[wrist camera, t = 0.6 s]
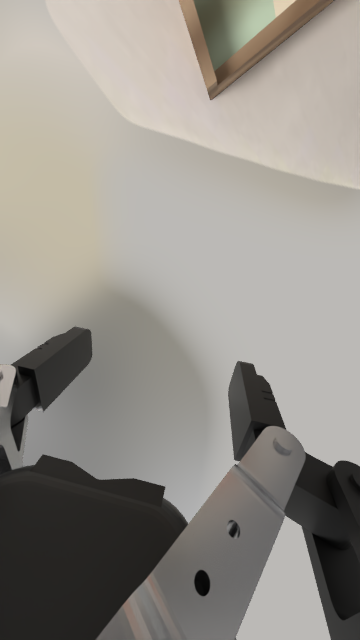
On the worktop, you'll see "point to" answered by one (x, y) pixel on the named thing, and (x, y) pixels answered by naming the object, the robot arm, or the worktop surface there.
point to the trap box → (241, 33)
